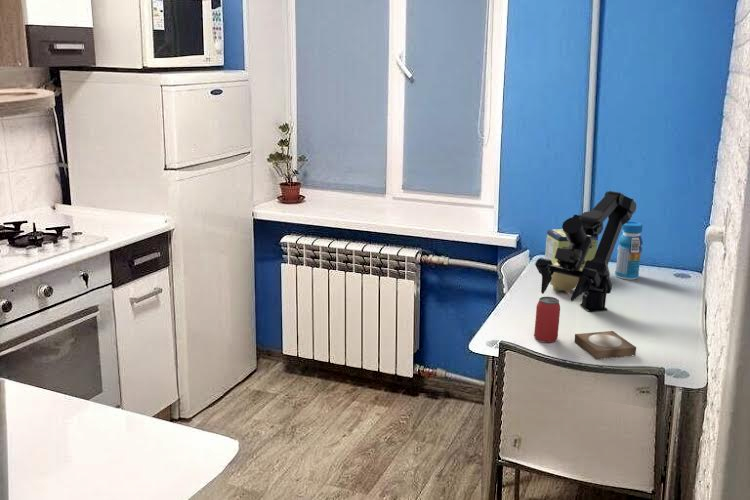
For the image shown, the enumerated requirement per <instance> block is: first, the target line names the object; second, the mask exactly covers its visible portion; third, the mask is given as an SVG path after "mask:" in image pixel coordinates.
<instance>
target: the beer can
mask: <svg viewBox="0 0 750 500" xmlns="http://www.w3.org/2000/svg"><path fill="white" fill-rule="evenodd" d="M535 311H536V312H535V319H534V321H535V323H534V331H533V333H534V335H533V336H534V339H535V340H537V341H539V342H541V343H548V344H549V343H554V342H556V341H557V340H558V336H559V335H558V334H559V326H560V325H559V324H560V316H561V315H560V314H561V306H560V300H559V299H558V298H557V297H553V296H541V297H540V298H539V300H538V302H537V304H536V309H535Z"/></svg>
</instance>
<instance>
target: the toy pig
mask: <svg viewBox="0 0 750 500" xmlns="http://www.w3.org/2000/svg"><path fill="white" fill-rule="evenodd" d="M553 265H555V266H560V264H558V262H556V263H555V264H553ZM582 270H583V269H582V268H580V270H579V271H582ZM551 277H552V279H551V281H550V283H549V285H551V286H552V288H553V290H555V291H556V290H559V291H563V292H566V294H571V291H572V290H575V288H576V286H577V284H578V281H579V278H578V277H574V276H569V275H565V274H561V273H556V272H554V273H553V275H551Z"/></svg>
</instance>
